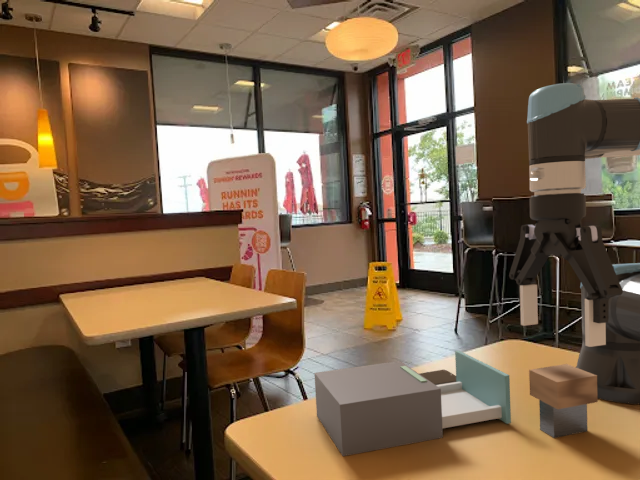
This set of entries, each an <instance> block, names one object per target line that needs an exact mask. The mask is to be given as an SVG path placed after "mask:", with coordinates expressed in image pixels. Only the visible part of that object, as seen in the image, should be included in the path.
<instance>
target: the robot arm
mask: <svg viewBox="0 0 640 480" xmlns="http://www.w3.org/2000/svg"><path fill="white" fill-rule="evenodd" d="M527 104H528V105H527V118H526V119H527V120H526V124H527V134H528V136H527V137H528V138H527V139H528V141H527V142H528V163H529V164H528V165H529V191H530V192H531V193H534V195H531V196H530V198H529V217H530V219H531V220H532V221H535V224H522V225H521V226H520V236H519V238H520V239H519V241H518V245H517V248H516V251H515V255H514V258H513V261H512V263H511V267H510V271H509V273H508V274H509V275H508V277H509V279H510V280H514V281H516V282H515V283H516V284H517V285H518V301H519V304H520V307H519V309H520V326H523V327H524V326H525V327H526V326H531V325H532V326H533V325H538V324H539V316H538V315H539V314H538V313H539V311H538V308H539V307H538V284H537V281H536V278H537V277H538V275H539V273H540V271H541V270H542V269H543V267H544V266H545V264H546V262H547V261H548V259H549V257H551V256H556V257H562V258H563V260H565V261H567V262H568V264H570V265H569V266H571V268H572V270H573V271H574V273H575V275H576V276H577V278H578V279H579V281H580V286H579V288H580V289H581V290H580V291H581V295H580V296H581V329H582V330H581V331H582V345H581V348H580V351H579V355H578V358H577V363H576V366H575V367H576V368H579V369H581V370H584V371H586V372H589V373H592V374H594V375H597V399H600V400H604V401H609V402H615V403H622V404H630V405H631V404H633V405H636V404H637V405H640V262H637V263H635V262H633V263H616V264H615V263H612V261H611V259H610V256H609V254H608V251H607V249H606V247H605V244H604V241H603V232H602V228H601V226H600V225H598V224H597V225H583V226H582V219H584V218H585V217H586V215H587V197H586V195H585V193H582V190H584V189H586V188H587V182H586V180H587V179H586V159H587V160H588V159H598V158H615V157H633V156H640V98H639V97H637V96H636V97H634V98H620V99H619V98H615V99H614V98H613V99H587V98H586V94H585V88H584V86H583V85H582V84H580V83H572V82H566V83H565V82H564V83H555V84H551V85H546V86H543V87H540V88H538V89H535V90H534V91H532V92H531V93H530V95H529V97H528V103H527Z"/></svg>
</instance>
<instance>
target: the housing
mask: <svg viewBox="0 0 640 480" xmlns="http://www.w3.org/2000/svg"><path fill="white" fill-rule="evenodd" d="M314 385H315V386H314V387H315V388H314V389H315V390H314V391H315V404H316V408H315V409H316V417H317V419H318V420H319V421H320V423H321V425H322V427H324V429H325V431H326V433H327V434H328V436H329V437H330V439H331V440H332V442H333V444H334V445H335V446H336V448H337V449H338V451H339V452H340V455H341V456H342V457H346V456H352V455H356V454H361V453H366V452H367V453H368V452H372V451H378V450H384V449H389V448H394V447H400V446H405V445H409V444H414V443H420V442H425V441H432V440H437V439H441V438H442V439H443V436H444V434H443V430H444V429H443V428H442V405H441V388H439V387H438V386H436V385H435V384H433V383H432V382H430V381H429V380H427V379H426V378H424V377H423V376H421V375H420V373H419V372H417V371H415V370H414V369H413V368H411V367H410V366H408V365H407V364H405V363H404V362H403V361H401V360H397V361H390V362H382V363H375V364H369V365H361V366H354V367H347V368H339V369H338V368H337V369H333V370H326V371H325V370H324V371H317V372H314Z"/></svg>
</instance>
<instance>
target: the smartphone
mask: <svg viewBox="0 0 640 480" xmlns="http://www.w3.org/2000/svg"><path fill="white" fill-rule="evenodd" d="M419 374H420V375H421V376H423V377H424V378H426V379H427V380H429V381H430V382H432V383H433V384H435V385H440V384H446V383H453V382H456V374H454V373H452V372H450V371H449V370H447V369H438V370H434V371H432V370H431V371H426V372H422V373H419Z"/></svg>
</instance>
